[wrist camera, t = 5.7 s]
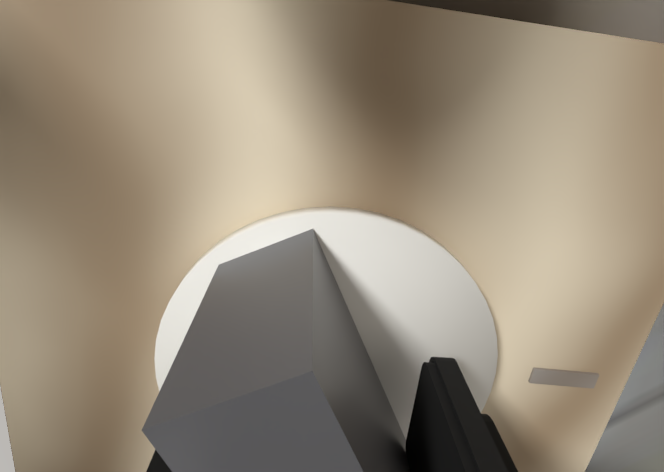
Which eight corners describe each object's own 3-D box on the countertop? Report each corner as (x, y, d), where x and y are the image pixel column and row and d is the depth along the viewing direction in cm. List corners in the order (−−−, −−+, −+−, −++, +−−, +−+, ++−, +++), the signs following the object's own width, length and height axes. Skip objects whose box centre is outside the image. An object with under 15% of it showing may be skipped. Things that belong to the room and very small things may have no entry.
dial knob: (95, 282, 11) (-103, 486, 6) (437, 150, 10) (571, 247, 5) (249, 511, 14) (212, 775, 9) (520, 425, 13) (654, 664, 8)
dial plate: (46, 523, 16) (28, 555, 15) (-41, -60, 9) (-84, -75, 8) (524, 548, 17) (537, 578, 16) (736, 60, 11) (780, 61, 10)
